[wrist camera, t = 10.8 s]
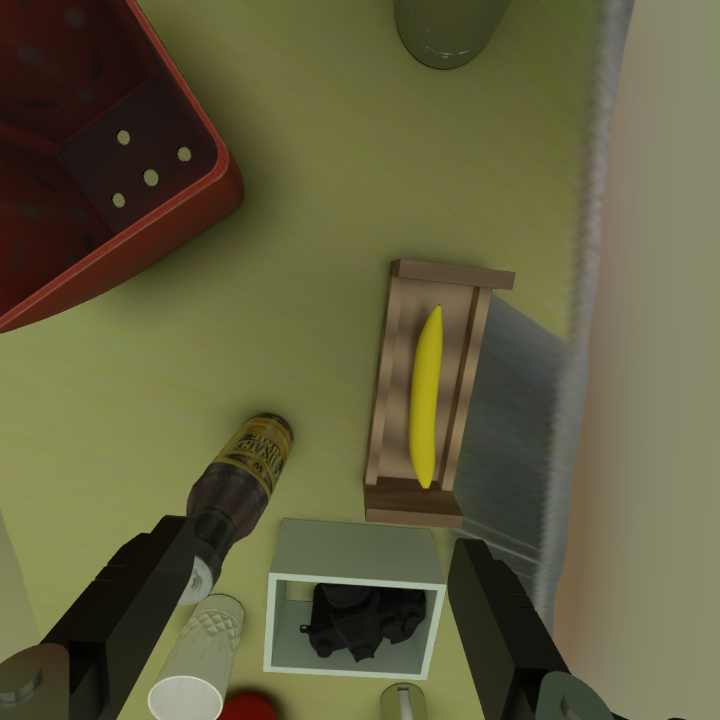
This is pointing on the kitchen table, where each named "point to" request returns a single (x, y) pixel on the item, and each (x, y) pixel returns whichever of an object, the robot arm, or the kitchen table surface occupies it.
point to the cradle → (458, 367)
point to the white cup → (199, 663)
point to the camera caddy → (356, 567)
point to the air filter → (403, 703)
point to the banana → (425, 399)
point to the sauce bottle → (233, 497)
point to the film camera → (362, 617)
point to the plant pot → (95, 154)
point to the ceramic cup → (247, 708)
